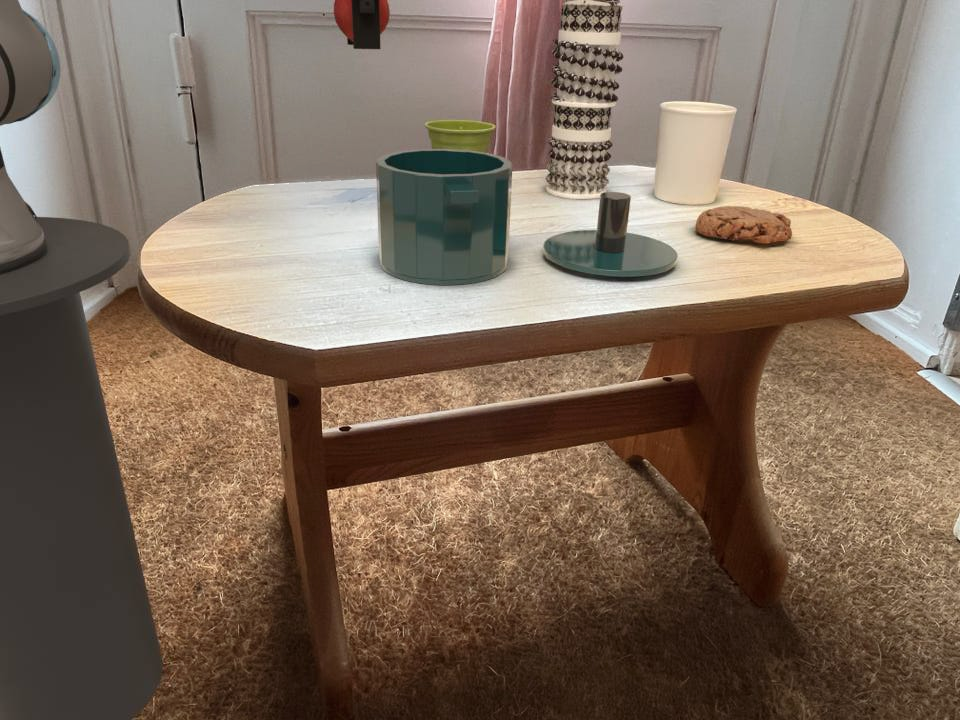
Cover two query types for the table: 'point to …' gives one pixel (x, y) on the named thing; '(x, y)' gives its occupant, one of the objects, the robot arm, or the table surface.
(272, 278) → the table surface
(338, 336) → the table surface
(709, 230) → the cookie
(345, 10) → the onion
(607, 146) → the decorative candle
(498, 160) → the pot
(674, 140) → the white cup
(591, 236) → the pot lid
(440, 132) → the plant pot
